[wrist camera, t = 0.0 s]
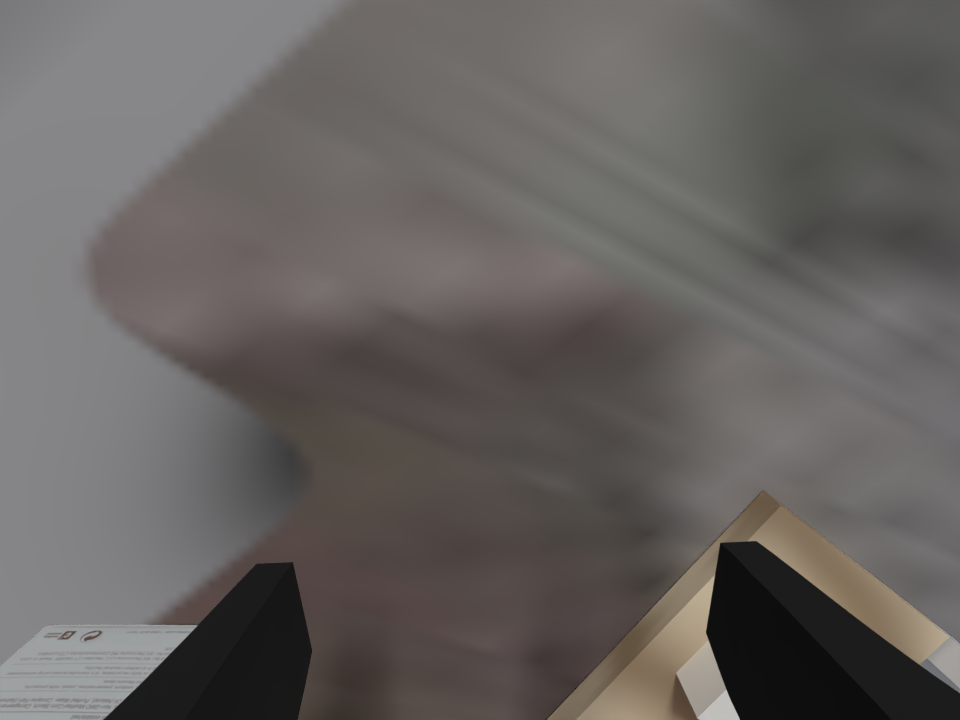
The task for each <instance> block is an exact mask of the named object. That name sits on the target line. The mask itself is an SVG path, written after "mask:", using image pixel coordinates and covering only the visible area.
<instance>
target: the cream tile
mask: <svg viewBox="0 0 960 720" xmlns="http://www.w3.org/2000/svg"><path fill="white" fill-rule="evenodd" d="M676 674H677V676H678V678H679V680H680V683H681V685H682V687H683V689H684V691H685V693H686V695H687V697H688V700H689V702H690V704H691V706H692V708H693V710H694V712H695V714H696V717H697V718H698V719H699V720H740V719H739V716H738V714H737V712H736V710H735V708H734V706H733V704H732V702H731V700H730V698H729V695H728V692H727V690H726V687H725V684H724V682H723V679H722V677H721V674H720V671H719V669H718V666H717V663H716V660H715V657H714V654H713V652H712V649H711V646H710V643H709V640H708V641H707V642H706V643H705V644H704V645H703V646H702V647H701V648H700V649H699V650H698V651H697V652H696V653H695V654H694V655H693V656H692V657H691V658H690V659H689V660H688V661H687V662H686V663H685V664H684V665H683V666H682V667H681V668H680V669H679V670H678V671H677V672H676Z"/></svg>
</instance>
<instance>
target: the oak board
mask: <svg viewBox="0 0 960 720" xmlns="http://www.w3.org/2000/svg"><path fill="white" fill-rule="evenodd" d="M746 541H757V542H759V543H760V544H761V545H763V546H764V547H765V548H767V549H768V550H769V551H771V552H772V553H773V554H775V555H776V556H777V557H779V558H780V559H781V560H782V561H784V562H785V563H786V564H788V565H789V566H790V567H791V568H793V569H794V570H795V571H797V572H798V573H799V574H800V575H802V576H803V577H804V578H806V579H807V580H808V581H809V582H811V583H812V584H813V585H815V586H816V587H817V588H818V589H820V590H821V591H822V592H824V593H825V594H826V595H827V596H829V597H830V598H831V599H833V600H834V601H835V602H836V603H838V604H839V605H840V606H842V607H843V608H844V609H846V610H847V611H848V612H849V613H851V614H852V615H853V616H855V617H856V618H857V619H859V620H860V621H861V622H863V623H864V624H865V625H866V626H868V627H869V628H870V629H872V630H873V631H874V632H876V633H877V634H878V635H880V636H881V637H882V638H884V639H885V640H886V641H888V642H889V643H890V644H892V645H893V646H895V647H896V648H897V649H899V650H900V651H901V652H903V653H904V654H905V655H907V656H908V657H910V658H911V659H912V660H914V661H915V662H916V663H918V664H919V665H920V664H921V663H922V662H923V661H924V660H925V659H926V658H928V657H929V656H930V655H931V654H932V653H933V652H934V651H935V650H936V649H937V648H938V647H940V646H941V645H942V644H943V643H944V642H945V641H946V640H947V639H948V638H949V637H950V636H948V635H947V634H946V633H945V632H944V631H942V630H941V629H940V628H939V627H938V626H936V625H935V624H934V623H933V622H931V621H930V620H929V619H928V618H927V617H925V616H924V615H923V614H922V613H920V612H919V611H918V610H917V609H915V608H914V607H913V606H911V605H910V604H909V603H908V602H906V601H905V600H904V599H902V598H901V597H900V596H899V595H897V594H896V593H895V592H893V591H892V590H891V589H890V588H888V587H887V586H886V585H884V584H883V583H882V582H881V581H879V580H878V579H877V578H875V577H874V576H873V575H872V574H870V573H869V572H868V571H866V570H865V569H864V568H863V567H861V566H860V565H859V564H857V563H856V562H855V561H854V560H852V559H851V558H850V557H848V556H847V555H846V554H845V553H843V552H842V551H841V550H839V549H838V548H837V547H836V546H834V545H833V544H832V543H830V542H829V541H828V540H827V539H825V538H824V537H823V536H821V535H820V534H819V533H818V532H816V531H815V530H814V529H812V528H811V527H810V526H809V525H807V524H806V523H805V522H803V521H802V520H801V519H800V518H798V517H797V516H796V515H794V514H793V513H792V512H791V511H789V510H788V509H787V508H786V507H784V506H783V505H782V504H780V503H779V502H778V501H777V500H775V499H774V498H773V497H771V496H770V495H769V494H768V493H766V492H765V491H764V490H763V491H762V492H761V493H760V495H759V496H758V497H757V498H756V499H755V500H754V501H753V502H752V503H751V504H750V505H749V506H748V507H747V508H746V509H745V510H744V511H743V513H742V514H741V515H740V516H739V517H738V518H737V519H736V520H735V521H734V522H733V523H732V524H731V525H730V526H729V527H728V528H727V529H726V531H725V532H724V533H723V534H722V535H721V536H720V537H719V538H718V539H717V540H716V541H715V542H714V543H713V544H712V545H711V546H710V547H709V549H708V550H707V551H706V552H705V553H704V554H703V555H702V556H701V557H700V558H699V559H698V560H697V561H696V562H695V563H694V564H693V565H692V567H691V568H690V569H689V570H688V571H687V572H686V573H685V574H684V575H683V576H682V577H681V578H680V579H679V580H678V581H677V582H676V583H675V585H674V586H673V587H672V588H671V589H670V590H669V591H668V592H667V593H666V594H665V595H664V596H663V597H662V598H661V599H660V600H659V601H658V603H657V604H656V605H655V606H654V607H653V608H652V609H651V610H650V611H649V612H648V613H647V614H646V615H645V616H644V617H643V618H642V619H641V620H640V622H639V623H638V624H637V625H636V626H635V627H634V628H633V629H632V630H631V631H630V632H629V633H628V634H627V635H626V636H625V637H624V638H623V640H622V641H621V642H620V643H619V644H618V645H617V646H616V647H615V648H614V649H613V650H612V651H611V652H610V653H609V654H608V655H607V656H606V658H605V659H604V660H603V661H602V662H601V663H600V664H599V665H598V666H597V667H596V668H595V669H594V670H593V671H592V672H591V673H590V674H589V676H588V677H587V678H586V679H585V680H584V681H583V682H582V683H581V684H580V685H579V686H578V687H577V688H576V689H575V690H574V691H573V692H572V694H571V695H570V696H569V697H568V698H567V699H566V700H565V701H564V702H563V703H562V704H561V705H560V706H559V707H558V708H557V709H556V710H555V712H554V713H553V714H552V715H551V716H550V717H549V718H548V719H547V720H699V719H698V718H697V717H696V714H695V712H694V710H693V708H692V706H691V704H690V702H689V700H688V697H687V695H686V693H685V691H684V689H683V687H682V685H681V683H680V680H679V678H678V676H677V674H676V672H677V671H678V670H679V669H680V668H681V667H682V666H683V665H684V664H685V663H686V662H687V661H688V660H689V659H690V658H691V657H692V656H693V655H694V654H695V653H696V652H697V651H698V650H699V649H700V648H701V647H702V646H703V645H704V644H705V643H706V642H707V641H708V637H707V634H706V628H707V622H708V616H709V610H710V603H711V597H712V591H713V585H714V578H715V572H716V566H717V560H718V554H719V547H720V543H724V542H746Z"/></svg>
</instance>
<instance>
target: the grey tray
mask: <svg viewBox="0 0 960 720" xmlns="http://www.w3.org/2000/svg"><path fill="white" fill-rule="evenodd" d="M930 621H931V620H930ZM931 622H932V621H931ZM935 625H936V624H935ZM936 626H937V625H936ZM939 628H940V627H939ZM940 629H941V628H940ZM941 630H942V629H941ZM942 631H943V630H942ZM944 632H945V631H944ZM945 633H946V632H945ZM946 634H947V633H946ZM947 635H948V636H950V635H949V634H947ZM920 665H921V666H922V667H923V668H925V669H926V670H928V671H929V672H930V673H932V674H933V675H934V676H936V677H937V678H939V679H940V680H942V681H943V682H945V683H946V684H947V685H949V686H950V687H952V688H953V689H955V690H956V691H958V692H959V693H960V643H959V642H958V641H956V640H955V639H954V638H952V637H951V636H950V637H949V638H948V639H947V640H946V641H945V642H944V643H943V644H942V645H941V646H940V647H938V648H937V649H936V650H935V651H934V652H933V653H932V654H931V655H930V656H929V657H928V658H926V659H925V660H924V661H923V662H922V663H921V664H920Z"/></svg>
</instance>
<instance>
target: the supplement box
mask: <svg viewBox="0 0 960 720" xmlns="http://www.w3.org/2000/svg"><path fill="white" fill-rule="evenodd" d="M197 626H198V625H109V624H106V625H99V624H97V625H85V624H84V625H49V626H46V627H44V628H43V629H42V630H41V631H39V633H37V634H36V635H35V636H34V637H33V638H31V639H30V640H29V641H28V642H27V643H26V644H25V645H23V646H22V647H21V648H20V649H19V650H18V651H17V652H16V653H14V654H13V655H12V656H11V657H10V658H9V659H8V660H7V661H6V662H4V663H3V664H2V665H1V666H0V720H103V719H104V718H105V717H106V716H108V715H109V714H110V713H111V712H112V711H113V710H114V709H115V708H116V707H117V706H118V705H119V704H120V703H121V702H122V701H123V700H124V699H125V698H126V697H127V696H128V695H130V694H131V693H132V692H133V691H134V690H135V689H136V688H137V687H138V686H139V685H140V684H141V683H142V682H143V681H144V680H145V679H146V678H147V677H148V676H149V675H150V674H151V673H152V672H153V671H154V670H155V669H156V668H157V667H158V666H159V665H160V664H161V663H162V662H163V661H164V660H165V659H166V658H167V656H168V655H169V654H170V653H171V652H172V651H173V650H174V649H175V648H176V647H177V646H178V645H179V644H180V643H181V642H182V641H183V640H184V639H185V638H186V637H187V636H188V635H189V634H190V633H191V632H192V631H193V630H194V629H195V628H196V627H197Z"/></svg>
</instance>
